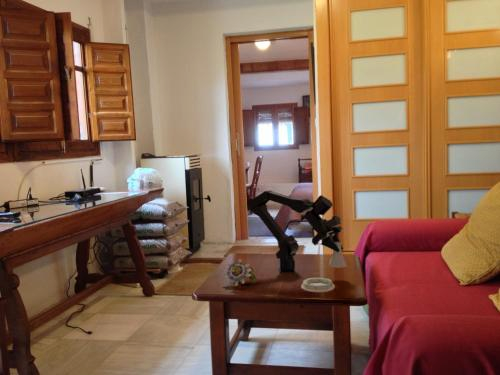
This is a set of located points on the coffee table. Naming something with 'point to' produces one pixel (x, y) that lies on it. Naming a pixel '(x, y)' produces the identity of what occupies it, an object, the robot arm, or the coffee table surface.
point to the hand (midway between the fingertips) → (340, 250)
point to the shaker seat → (317, 285)
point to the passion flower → (239, 273)
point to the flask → (337, 258)
